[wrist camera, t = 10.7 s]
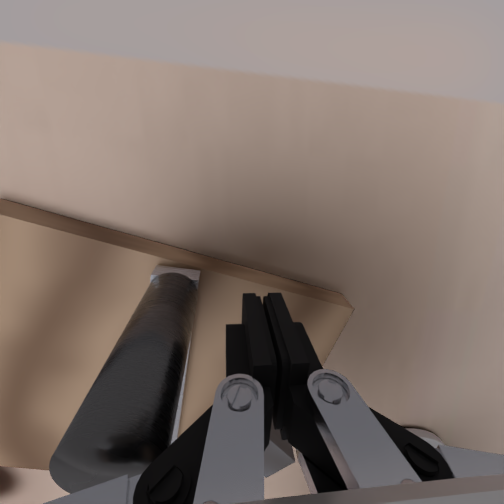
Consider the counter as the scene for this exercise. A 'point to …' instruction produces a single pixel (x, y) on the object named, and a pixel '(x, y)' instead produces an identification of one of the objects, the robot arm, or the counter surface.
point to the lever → (134, 390)
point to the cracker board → (115, 323)
